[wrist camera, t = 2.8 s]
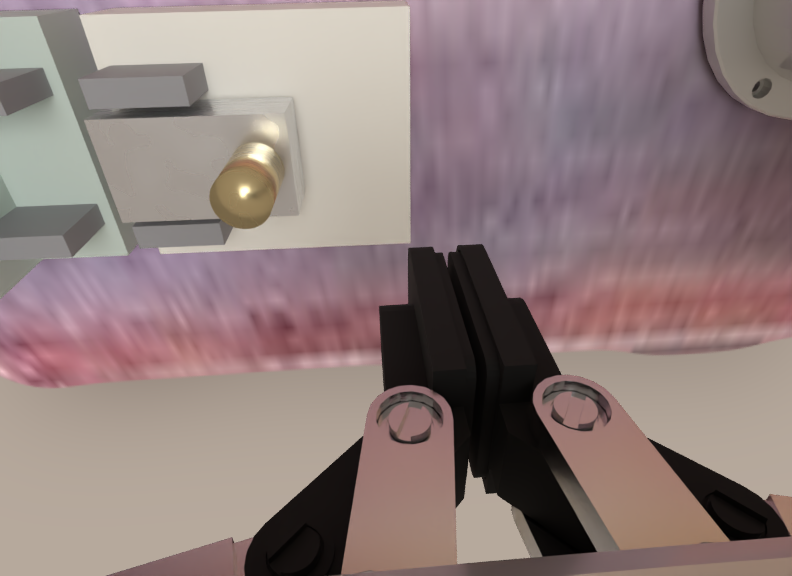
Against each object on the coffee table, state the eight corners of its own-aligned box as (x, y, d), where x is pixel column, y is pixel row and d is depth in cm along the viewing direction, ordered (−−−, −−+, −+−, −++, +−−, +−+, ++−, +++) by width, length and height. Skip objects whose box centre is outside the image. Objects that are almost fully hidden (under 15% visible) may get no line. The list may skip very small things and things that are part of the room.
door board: (404, 0, 20) (415, 12, 16) (406, 216, 26) (414, 270, 21) (114, 7, 20) (40, 22, 15) (180, 225, 26) (140, 282, 21)
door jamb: (77, 8, 20) (-66, 33, 13) (151, 226, 26) (77, 320, 19) (-48, 12, 20) (-255, 39, 13) (54, 230, 25) (-54, 326, 19)
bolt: (292, 96, 19) (271, 139, 15) (305, 190, 22) (289, 253, 17) (114, 102, 19) (35, 147, 14) (145, 197, 21) (86, 262, 17)
